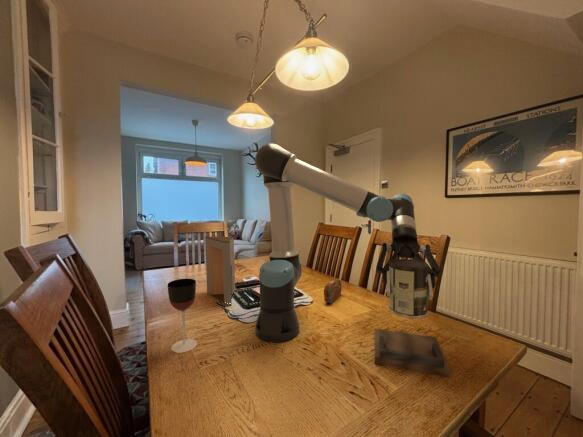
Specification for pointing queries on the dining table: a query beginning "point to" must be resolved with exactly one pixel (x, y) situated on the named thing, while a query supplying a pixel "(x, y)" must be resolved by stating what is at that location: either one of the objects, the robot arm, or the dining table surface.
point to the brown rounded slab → (332, 291)
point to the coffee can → (408, 288)
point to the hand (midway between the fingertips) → (409, 295)
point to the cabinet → (220, 268)
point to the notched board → (410, 352)
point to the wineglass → (182, 308)
